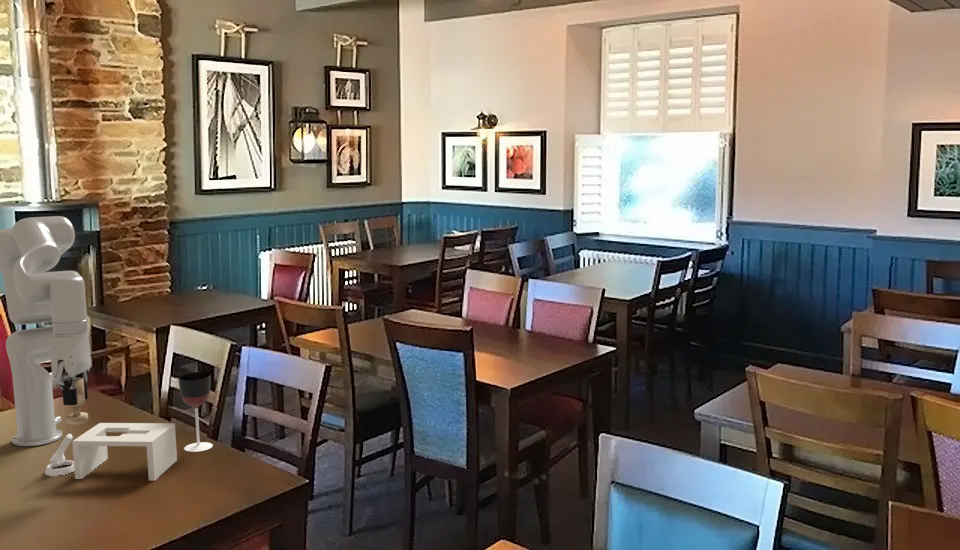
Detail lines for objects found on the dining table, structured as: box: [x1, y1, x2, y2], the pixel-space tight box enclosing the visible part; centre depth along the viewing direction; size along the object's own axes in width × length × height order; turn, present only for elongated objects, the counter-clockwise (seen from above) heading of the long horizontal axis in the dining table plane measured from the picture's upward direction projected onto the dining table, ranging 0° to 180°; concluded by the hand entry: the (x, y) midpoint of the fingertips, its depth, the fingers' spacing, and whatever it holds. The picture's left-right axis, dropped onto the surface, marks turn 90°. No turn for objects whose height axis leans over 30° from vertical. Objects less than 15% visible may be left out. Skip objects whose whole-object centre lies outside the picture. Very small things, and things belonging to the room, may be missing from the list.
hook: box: [44, 433, 75, 477], centre depth 214 cm, size 8×12×7 cm
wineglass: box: [178, 371, 214, 453], centre depth 230 cm, size 8×9×20 cm
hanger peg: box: [65, 378, 89, 426], centre depth 203 cm, size 5×5×10 cm
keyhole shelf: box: [71, 422, 178, 482], centre depth 214 cm, size 20×14×10 cm
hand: (75, 401), depth 203 cm, fingers closed on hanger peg, 4 cm apart
